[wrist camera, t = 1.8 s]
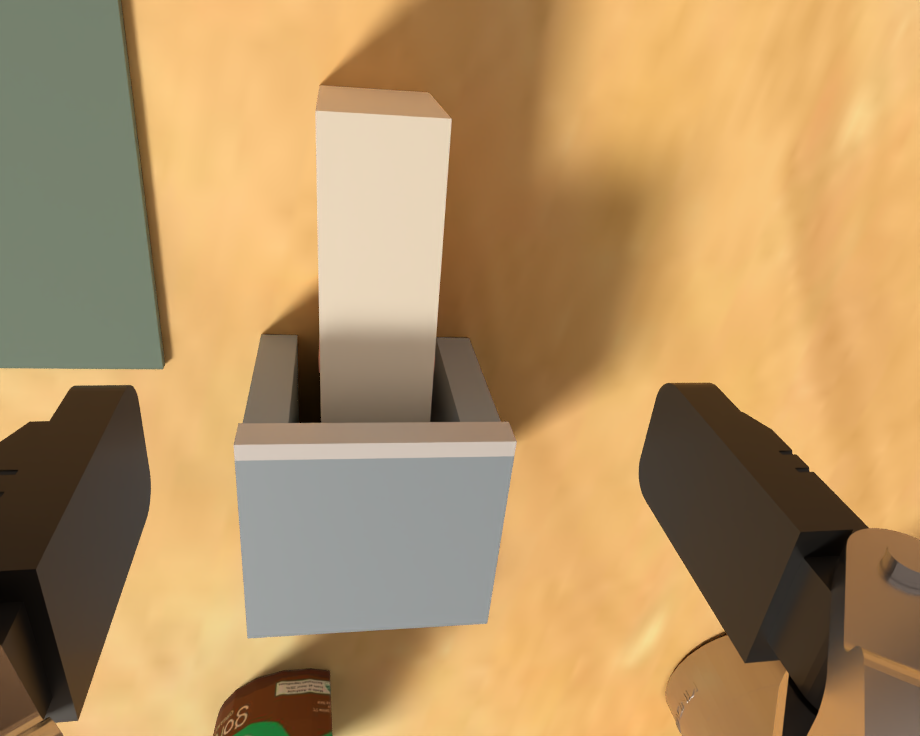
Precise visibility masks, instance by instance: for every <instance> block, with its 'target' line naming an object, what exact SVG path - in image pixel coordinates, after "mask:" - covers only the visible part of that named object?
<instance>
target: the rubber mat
mask: <svg viewBox="0 0 920 736" xmlns="http://www.w3.org/2000/svg"><path fill="white" fill-rule="evenodd" d="M164 366H165V360H164V352H163V343H162V335H161V327H160V319H159V310H158V302H157V294H156V286H155V277H154V269H153V261H152V253H151V244H150V236H149V228H148V219H147V211H146V203H145V195H144V186H143V178H142V170H141V162H140V153H139V145H138V137H137V129H136V120H135V112H134V104H133V95H132V87H131V79H130V71H129V62H128V54H127V46H126V38H125V29H124V21H123V13H122V4H121V0H0V368H61V369H163V368H164Z"/></svg>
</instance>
